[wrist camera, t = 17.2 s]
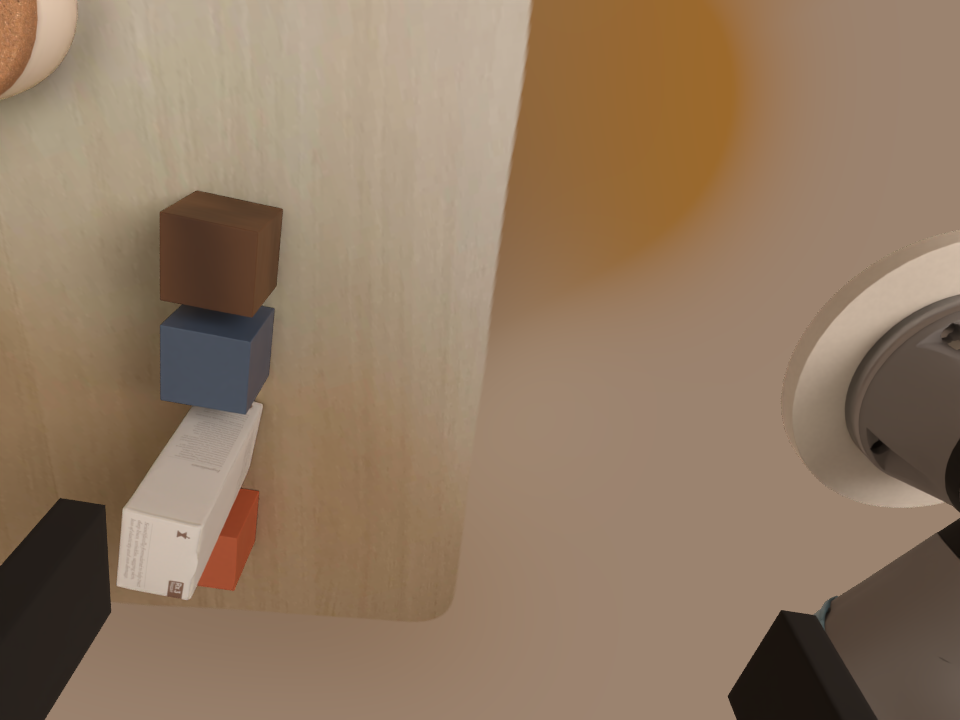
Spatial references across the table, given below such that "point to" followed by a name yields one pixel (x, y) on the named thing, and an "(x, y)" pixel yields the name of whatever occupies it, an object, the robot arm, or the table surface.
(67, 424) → the table surface
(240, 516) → the terracotta block
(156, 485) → the cosmetic box
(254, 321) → the slate blue block
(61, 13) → the trinket box
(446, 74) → the table surface
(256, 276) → the walnut block
